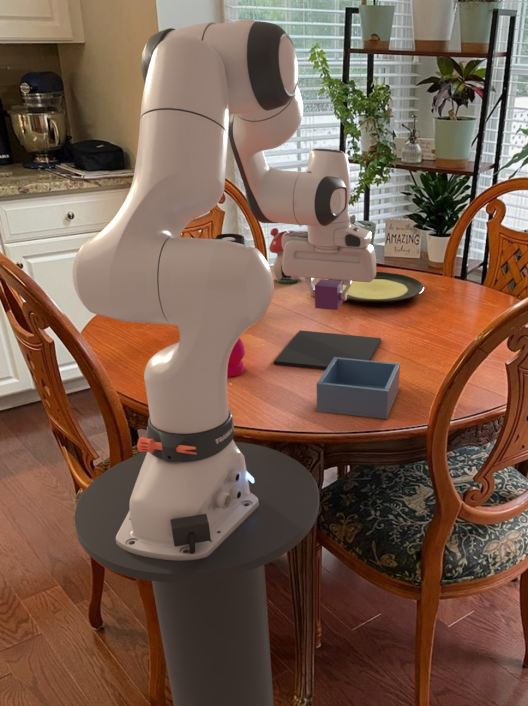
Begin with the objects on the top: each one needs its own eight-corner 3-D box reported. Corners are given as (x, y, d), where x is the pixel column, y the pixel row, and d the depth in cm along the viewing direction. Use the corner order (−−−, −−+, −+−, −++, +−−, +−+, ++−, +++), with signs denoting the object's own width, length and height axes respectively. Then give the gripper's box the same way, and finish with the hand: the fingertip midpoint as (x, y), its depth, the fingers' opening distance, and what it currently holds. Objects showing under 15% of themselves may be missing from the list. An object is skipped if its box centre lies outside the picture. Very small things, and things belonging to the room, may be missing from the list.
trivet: (363, 373, 152) (363, 370, 152) (273, 364, 155) (273, 361, 155) (380, 341, 169) (381, 337, 168) (299, 333, 172) (299, 330, 172)
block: (337, 310, 154) (337, 287, 151) (314, 308, 155) (314, 285, 152) (342, 303, 158) (342, 280, 155) (320, 301, 159) (320, 279, 156)
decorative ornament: (269, 283, 206) (267, 229, 199) (273, 276, 212) (270, 224, 204) (301, 284, 206) (300, 230, 198) (304, 277, 212) (302, 225, 204)
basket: (386, 419, 134) (387, 391, 131) (316, 411, 136) (316, 383, 133) (398, 390, 145) (400, 363, 142) (334, 383, 148) (334, 356, 145)
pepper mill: (234, 362, 156) (227, 270, 146) (252, 372, 151) (246, 278, 141) (205, 369, 152) (196, 276, 142) (222, 380, 148) (214, 285, 137)
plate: (303, 290, 201) (303, 282, 199) (375, 273, 217) (376, 265, 216) (371, 316, 183) (371, 307, 182) (444, 295, 199) (445, 287, 198)
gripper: (276, 233, 147) (279, 298, 155) (373, 240, 144) (371, 306, 151) (285, 226, 153) (287, 290, 160) (379, 233, 149) (377, 297, 156)
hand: (329, 298), depth 155 cm, fingers closed on block, 5 cm apart
